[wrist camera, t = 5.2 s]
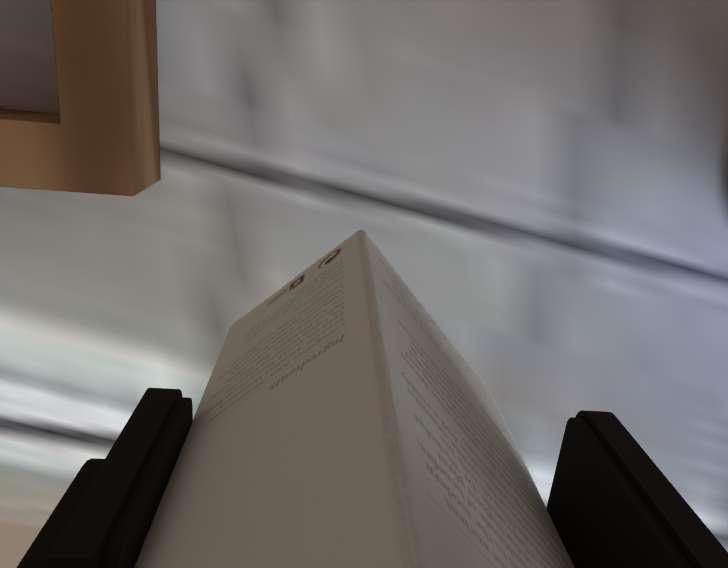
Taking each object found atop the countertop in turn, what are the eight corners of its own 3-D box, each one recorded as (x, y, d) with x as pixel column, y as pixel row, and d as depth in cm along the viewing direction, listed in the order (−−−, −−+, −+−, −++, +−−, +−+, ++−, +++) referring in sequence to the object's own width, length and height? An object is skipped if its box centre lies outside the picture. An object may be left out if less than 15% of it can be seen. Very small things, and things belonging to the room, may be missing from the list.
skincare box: (224, 325, 14) (-181, 1227, 3) (361, 222, 14) (480, 912, 2) (371, 482, 16) (450, 1416, 5) (499, 398, 15) (939, 1271, 4)
